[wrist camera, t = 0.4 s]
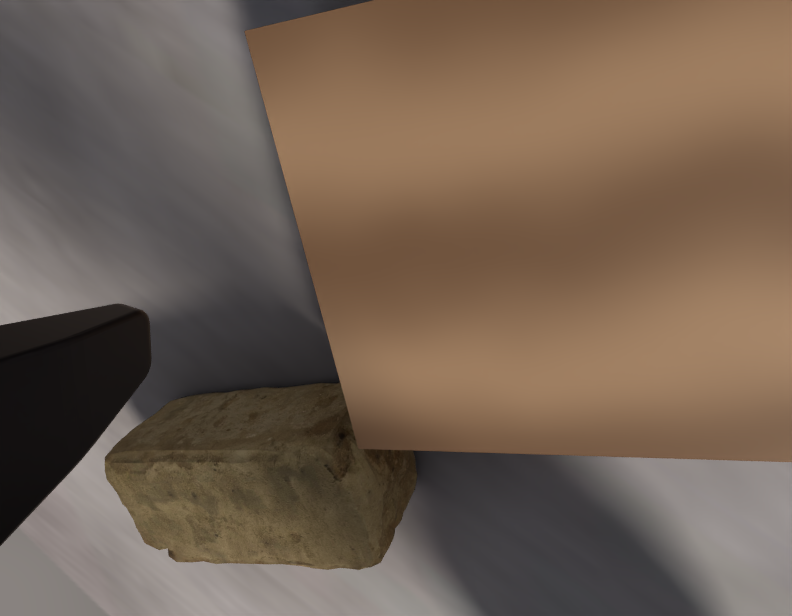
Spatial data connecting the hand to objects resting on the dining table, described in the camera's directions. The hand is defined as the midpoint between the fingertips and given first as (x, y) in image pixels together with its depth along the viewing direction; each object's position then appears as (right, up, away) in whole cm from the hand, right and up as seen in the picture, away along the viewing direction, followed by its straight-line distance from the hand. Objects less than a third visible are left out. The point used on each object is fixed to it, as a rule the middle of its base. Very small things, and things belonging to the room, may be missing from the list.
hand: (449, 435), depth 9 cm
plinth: (+4, +5, +12) cm, 14 cm away
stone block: (-5, -4, +21) cm, 21 cm away
